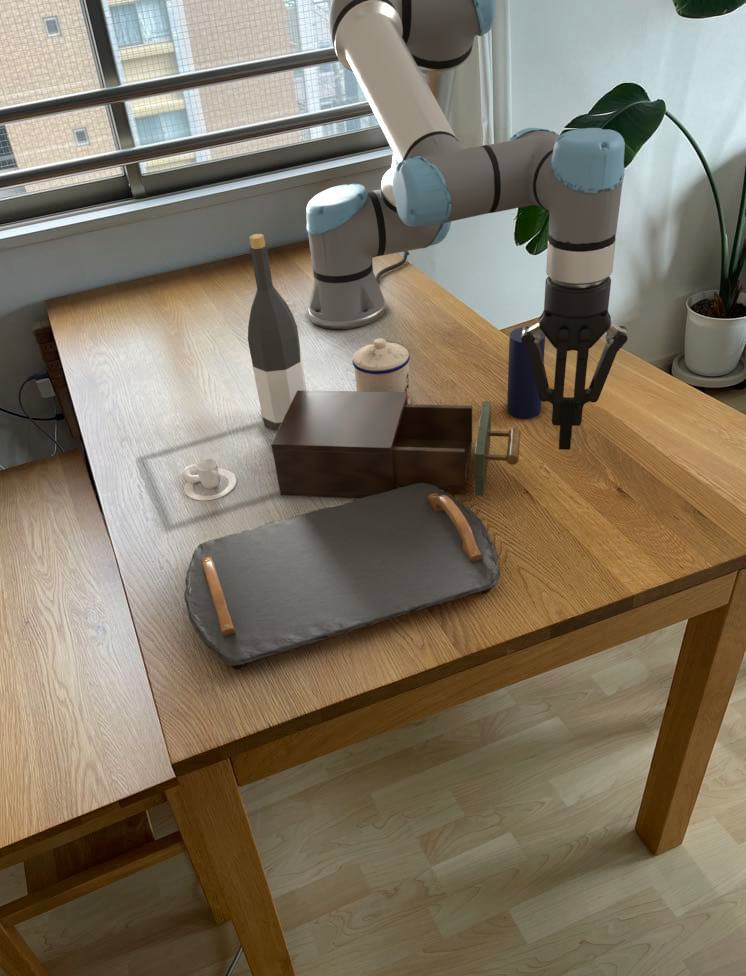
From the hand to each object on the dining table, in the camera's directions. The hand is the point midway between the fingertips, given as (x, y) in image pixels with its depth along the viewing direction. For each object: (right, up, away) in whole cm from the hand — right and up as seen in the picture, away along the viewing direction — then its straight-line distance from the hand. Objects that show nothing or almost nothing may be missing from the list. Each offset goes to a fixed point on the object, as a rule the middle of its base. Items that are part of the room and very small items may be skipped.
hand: (564, 444), depth 111 cm
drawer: (-15, -2, +6) cm, 17 cm away
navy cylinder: (-2, +7, +18) cm, 19 cm away
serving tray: (-30, -18, -8) cm, 36 cm away
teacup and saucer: (-49, -3, +13) cm, 51 cm away
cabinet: (-30, -2, +10) cm, 31 cm away
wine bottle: (-39, +7, +23) cm, 46 cm away
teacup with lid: (-24, +10, +25) cm, 35 cm away
